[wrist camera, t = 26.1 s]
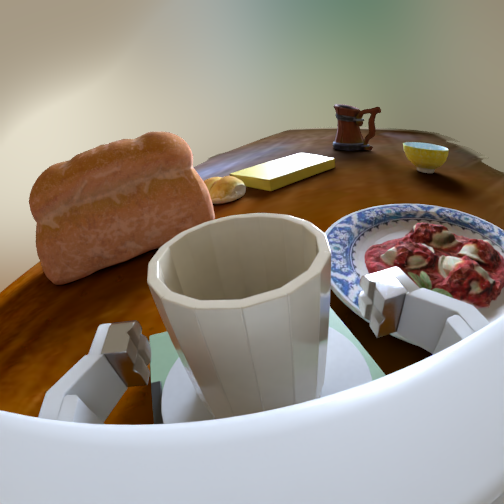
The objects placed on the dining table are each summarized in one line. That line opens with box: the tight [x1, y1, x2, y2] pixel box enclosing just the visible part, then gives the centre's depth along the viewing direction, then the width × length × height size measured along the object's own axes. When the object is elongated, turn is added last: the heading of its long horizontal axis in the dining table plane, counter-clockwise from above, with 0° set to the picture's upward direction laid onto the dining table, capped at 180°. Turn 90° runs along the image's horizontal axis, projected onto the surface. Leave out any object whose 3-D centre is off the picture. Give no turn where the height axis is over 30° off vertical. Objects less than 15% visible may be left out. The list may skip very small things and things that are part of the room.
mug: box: [333, 104, 381, 151], centre depth 79 cm, size 18×12×15 cm, turn 37°
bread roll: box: [204, 176, 246, 204], centre depth 51 cm, size 8×9×4 cm
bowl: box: [403, 142, 449, 173], centre depth 54 cm, size 11×12×6 cm
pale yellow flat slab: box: [230, 153, 335, 191], centre depth 61 cm, size 12×2×24 cm
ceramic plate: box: [325, 204, 504, 346], centre depth 23 cm, size 26×26×3 cm
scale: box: [150, 307, 386, 424], centre depth 14 cm, size 14×13×3 cm
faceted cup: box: [147, 213, 331, 419], centre depth 12 cm, size 6×6×8 cm
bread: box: [29, 132, 215, 285], centre depth 35 cm, size 14×26×15 cm, turn 118°
